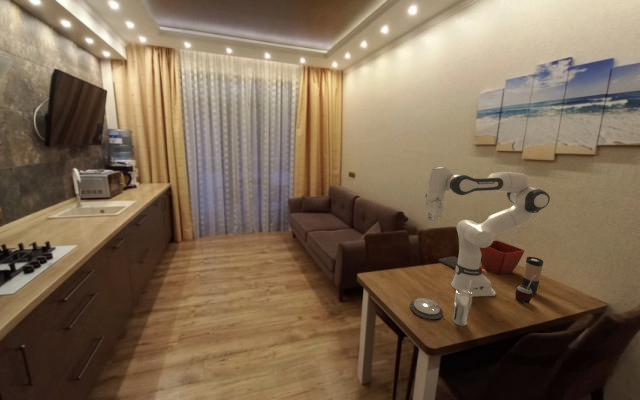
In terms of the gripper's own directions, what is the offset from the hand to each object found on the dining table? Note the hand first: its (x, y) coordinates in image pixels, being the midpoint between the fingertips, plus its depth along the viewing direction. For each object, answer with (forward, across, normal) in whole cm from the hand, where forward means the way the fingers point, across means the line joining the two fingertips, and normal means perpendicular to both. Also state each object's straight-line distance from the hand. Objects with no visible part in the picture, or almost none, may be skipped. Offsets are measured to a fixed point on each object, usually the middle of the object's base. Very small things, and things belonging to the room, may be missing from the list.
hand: (431, 221), depth 148 cm
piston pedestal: (+40, -22, +3) cm, 46 cm away
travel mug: (+37, +9, -61) cm, 72 cm away
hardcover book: (+37, +36, -33) cm, 61 cm away
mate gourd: (+38, -3, -52) cm, 64 cm away
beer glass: (+41, -28, -11) cm, 51 cm away
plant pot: (+36, +37, -57) cm, 77 cm away
